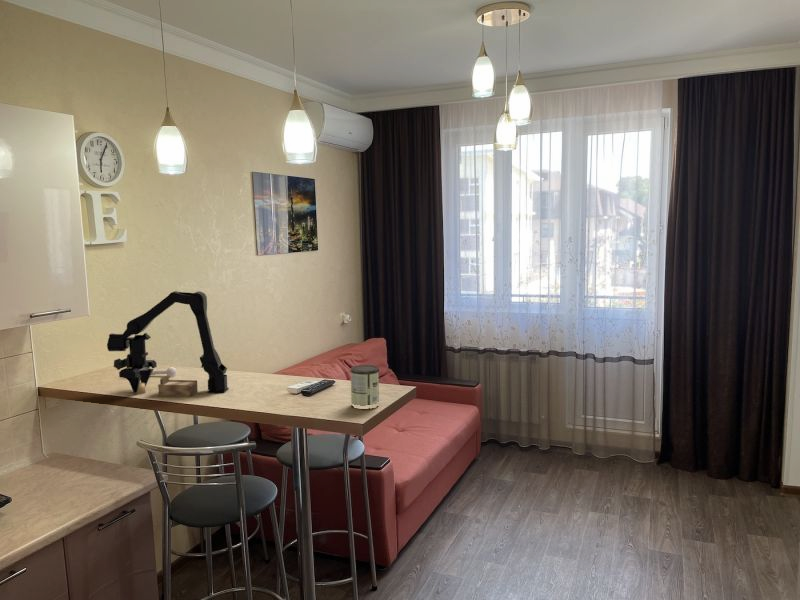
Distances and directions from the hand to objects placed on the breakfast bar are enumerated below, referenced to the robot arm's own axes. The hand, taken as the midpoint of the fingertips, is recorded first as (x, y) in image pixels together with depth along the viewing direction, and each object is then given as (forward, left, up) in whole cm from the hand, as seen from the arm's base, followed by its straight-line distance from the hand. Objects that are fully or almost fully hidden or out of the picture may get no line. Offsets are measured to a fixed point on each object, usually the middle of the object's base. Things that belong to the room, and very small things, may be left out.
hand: (139, 390), depth 235 cm
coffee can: (-89, +11, -1) cm, 90 cm away
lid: (-16, 0, +2) cm, 16 cm away
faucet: (+6, -27, -2) cm, 28 cm away
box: (-15, 0, -1) cm, 16 cm away
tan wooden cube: (0, 0, -1) cm, 1 cm away
